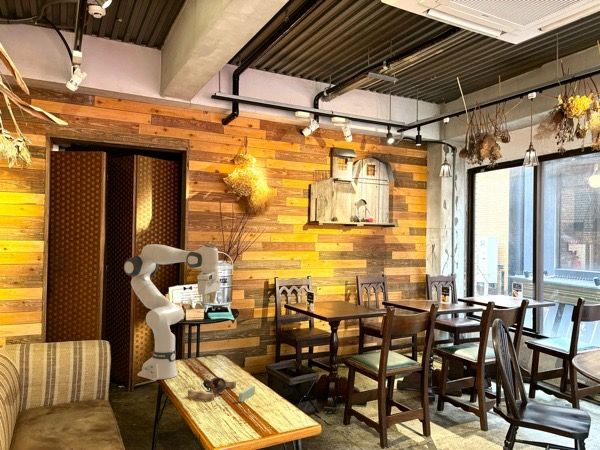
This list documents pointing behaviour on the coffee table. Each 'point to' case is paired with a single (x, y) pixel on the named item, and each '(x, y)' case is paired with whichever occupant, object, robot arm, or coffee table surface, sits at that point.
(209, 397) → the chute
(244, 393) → the block
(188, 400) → the coffee table surface
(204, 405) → the coffee table surface
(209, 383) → the broken brown clay pot
